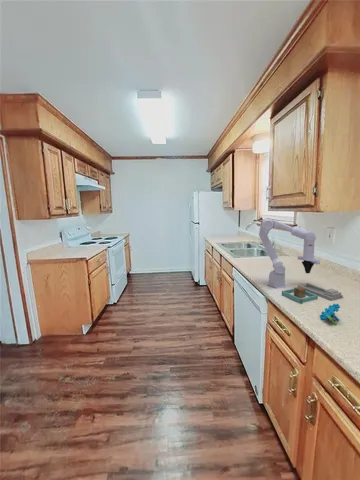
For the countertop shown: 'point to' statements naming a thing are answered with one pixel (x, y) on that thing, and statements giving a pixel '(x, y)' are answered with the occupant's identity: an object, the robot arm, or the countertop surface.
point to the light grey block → (330, 292)
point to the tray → (299, 300)
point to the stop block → (299, 292)
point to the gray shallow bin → (321, 292)
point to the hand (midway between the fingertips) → (307, 273)
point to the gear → (330, 313)
